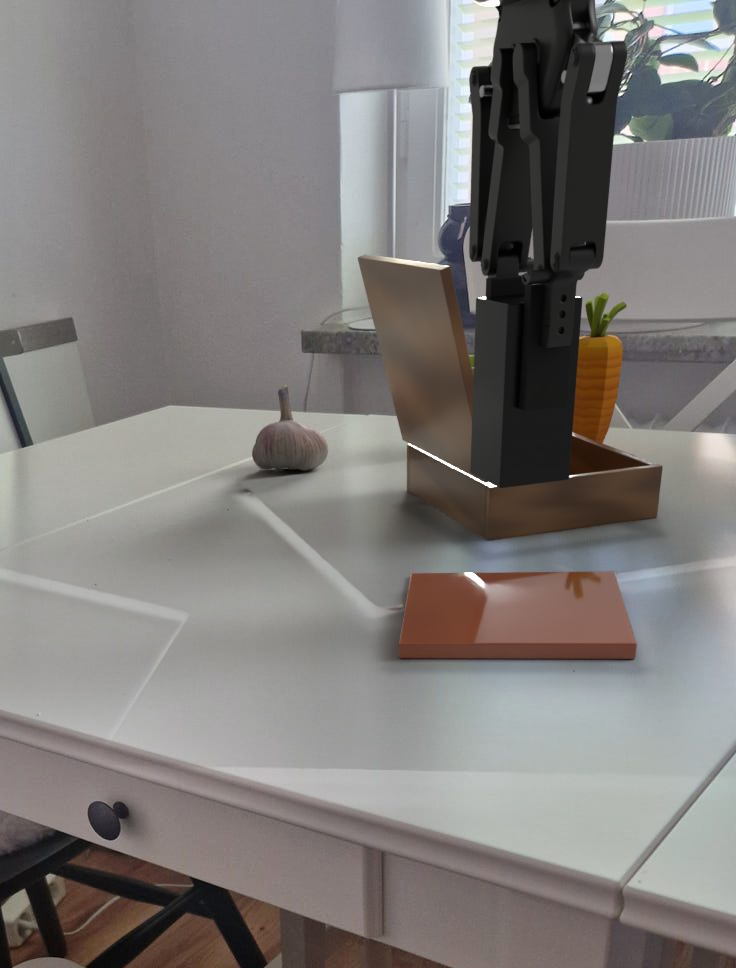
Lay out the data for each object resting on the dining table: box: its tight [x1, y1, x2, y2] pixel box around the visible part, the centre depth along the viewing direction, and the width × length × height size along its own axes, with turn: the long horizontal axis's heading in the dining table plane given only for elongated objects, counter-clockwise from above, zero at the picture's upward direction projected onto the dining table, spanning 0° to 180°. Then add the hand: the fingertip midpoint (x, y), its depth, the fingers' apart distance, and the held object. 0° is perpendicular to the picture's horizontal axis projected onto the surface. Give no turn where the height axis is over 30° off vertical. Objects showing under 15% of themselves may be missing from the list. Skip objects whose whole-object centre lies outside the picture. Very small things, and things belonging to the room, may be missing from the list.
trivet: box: [398, 570, 638, 660], centre depth 76 cm, size 14×14×1 cm
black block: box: [470, 293, 583, 488], centre depth 69 cm, size 4×4×10 cm
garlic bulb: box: [251, 384, 329, 471], centre depth 116 cm, size 8×7×8 cm
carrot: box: [572, 292, 627, 444], centre depth 108 cm, size 5×5×15 cm
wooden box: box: [406, 432, 663, 542], centre depth 97 cm, size 14×18×5 cm
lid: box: [357, 253, 487, 483], centre depth 91 cm, size 15×18×1 cm
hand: (523, 399), depth 69 cm, fingers closed on black block, 4 cm apart
